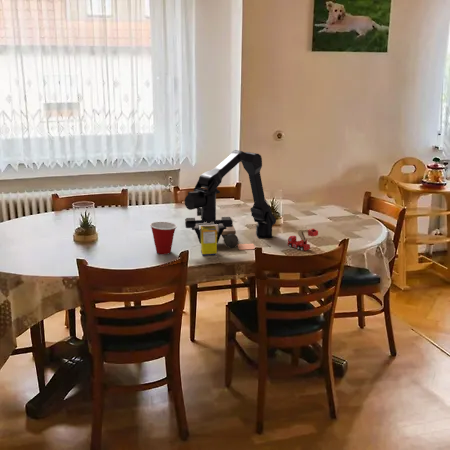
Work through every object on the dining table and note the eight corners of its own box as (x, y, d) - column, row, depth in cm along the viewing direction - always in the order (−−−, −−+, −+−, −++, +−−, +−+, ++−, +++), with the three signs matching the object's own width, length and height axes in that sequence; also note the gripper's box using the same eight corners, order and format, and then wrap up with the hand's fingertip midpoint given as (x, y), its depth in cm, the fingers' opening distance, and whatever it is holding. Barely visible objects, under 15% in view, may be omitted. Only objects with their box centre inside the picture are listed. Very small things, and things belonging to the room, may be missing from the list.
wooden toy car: (234, 238, 241) (234, 223, 239) (238, 247, 229) (238, 232, 227) (198, 239, 239) (198, 224, 237) (200, 249, 227) (200, 233, 225)
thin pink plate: (253, 244, 234) (253, 243, 234) (255, 249, 227) (255, 248, 227) (237, 244, 233) (237, 244, 233) (239, 249, 226) (239, 249, 226)
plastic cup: (179, 255, 219) (179, 226, 216) (153, 257, 216) (152, 228, 213) (175, 247, 229) (174, 219, 226) (149, 249, 226) (148, 221, 223)
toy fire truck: (291, 244, 234) (292, 222, 231) (317, 252, 225) (318, 229, 222) (286, 246, 232) (287, 224, 229) (312, 253, 222) (313, 231, 220)
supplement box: (214, 250, 225) (215, 225, 222) (217, 255, 220) (217, 229, 217) (200, 251, 224) (200, 225, 221) (202, 256, 219) (202, 230, 216)
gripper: (229, 200, 225) (229, 236, 229) (184, 201, 223) (184, 237, 227) (232, 206, 215) (232, 244, 219) (185, 207, 212) (186, 245, 217)
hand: (208, 242), depth 221 cm, fingers open, 7 cm apart
